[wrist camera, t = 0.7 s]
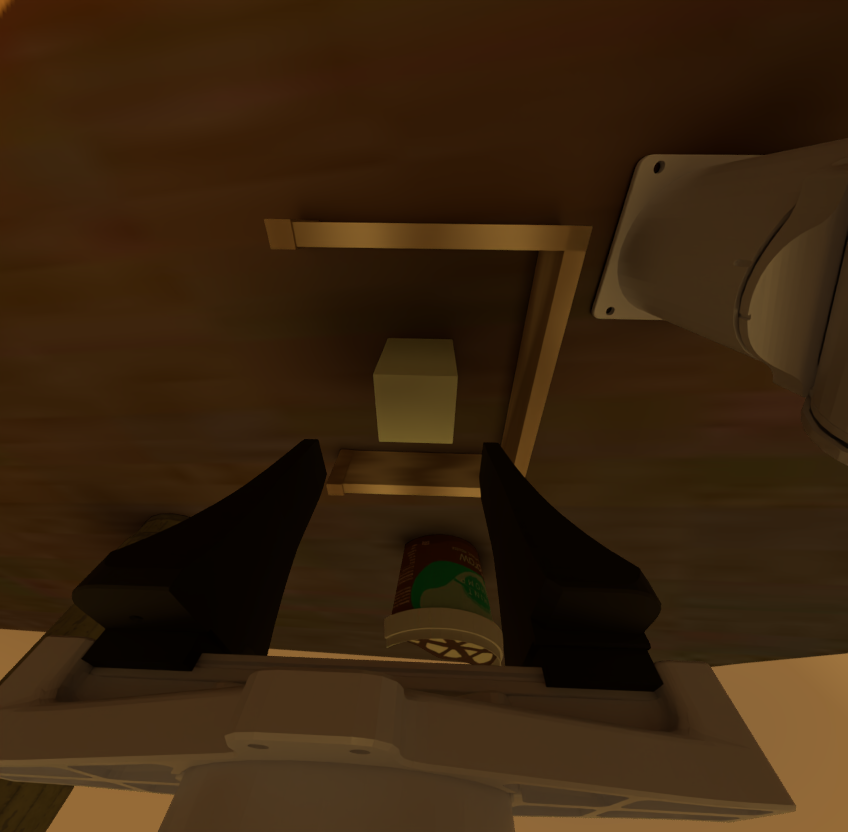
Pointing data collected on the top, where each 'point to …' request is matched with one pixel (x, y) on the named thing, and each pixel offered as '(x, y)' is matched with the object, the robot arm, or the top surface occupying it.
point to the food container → (444, 603)
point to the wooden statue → (8, 800)
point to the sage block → (416, 390)
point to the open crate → (536, 354)
